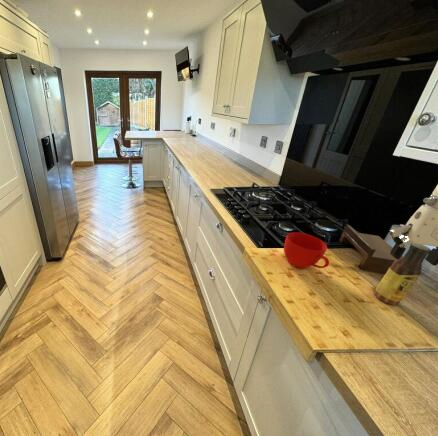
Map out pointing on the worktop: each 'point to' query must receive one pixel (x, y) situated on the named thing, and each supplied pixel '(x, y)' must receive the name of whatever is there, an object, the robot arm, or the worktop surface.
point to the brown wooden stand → (369, 250)
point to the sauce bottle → (402, 275)
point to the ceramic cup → (304, 250)
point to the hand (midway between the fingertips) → (412, 259)
